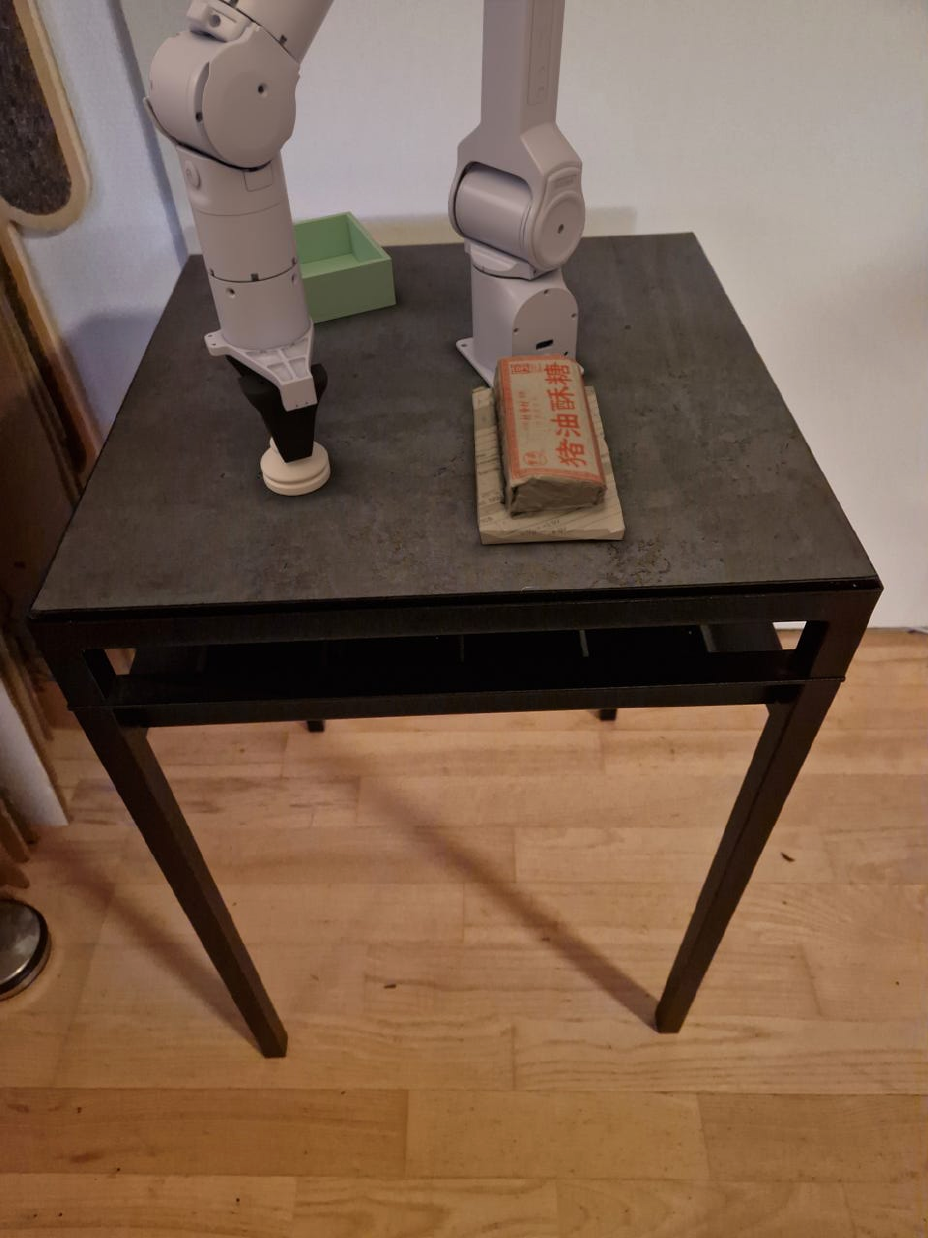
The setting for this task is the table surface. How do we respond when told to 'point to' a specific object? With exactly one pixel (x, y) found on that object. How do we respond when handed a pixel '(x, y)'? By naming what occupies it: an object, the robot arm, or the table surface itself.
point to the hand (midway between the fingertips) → (290, 443)
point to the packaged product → (542, 455)
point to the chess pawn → (295, 471)
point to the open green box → (342, 267)
